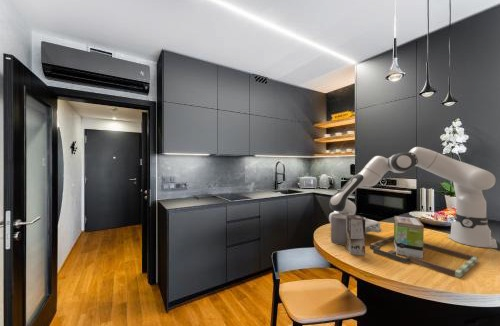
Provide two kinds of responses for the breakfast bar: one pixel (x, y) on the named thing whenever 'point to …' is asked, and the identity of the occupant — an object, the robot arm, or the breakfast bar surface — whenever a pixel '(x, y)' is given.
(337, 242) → the pillar candle
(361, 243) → the coffee box
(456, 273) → the channel
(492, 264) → the breakfast bar surface
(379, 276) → the breakfast bar surface
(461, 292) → the breakfast bar surface
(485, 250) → the breakfast bar surface
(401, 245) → the tea box
